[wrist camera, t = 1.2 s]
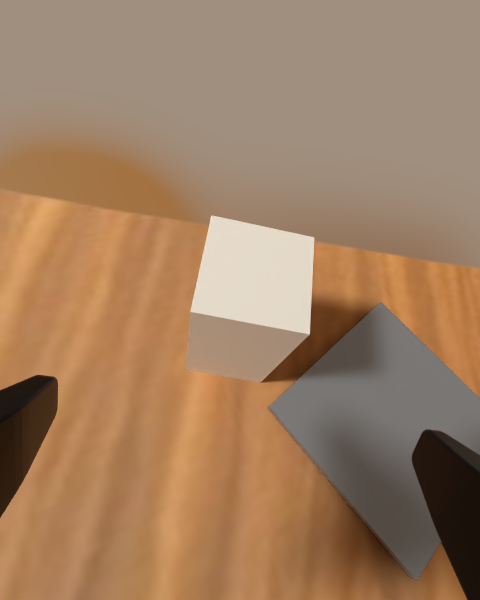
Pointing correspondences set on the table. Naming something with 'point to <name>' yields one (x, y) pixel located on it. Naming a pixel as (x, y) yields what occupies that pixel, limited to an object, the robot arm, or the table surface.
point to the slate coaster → (380, 427)
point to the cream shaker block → (249, 300)
